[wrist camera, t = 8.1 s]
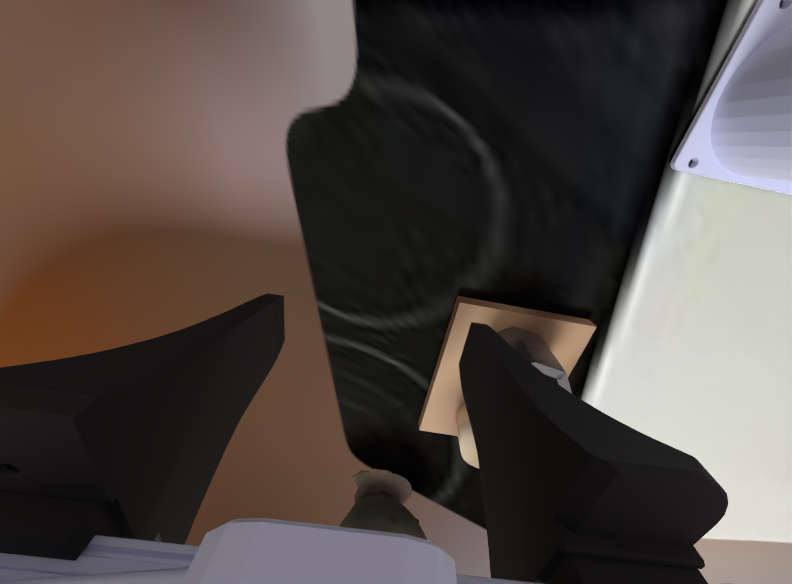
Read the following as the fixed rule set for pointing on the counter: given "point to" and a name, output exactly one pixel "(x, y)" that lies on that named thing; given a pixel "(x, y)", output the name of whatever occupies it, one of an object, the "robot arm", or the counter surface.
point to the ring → (536, 353)
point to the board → (557, 331)
